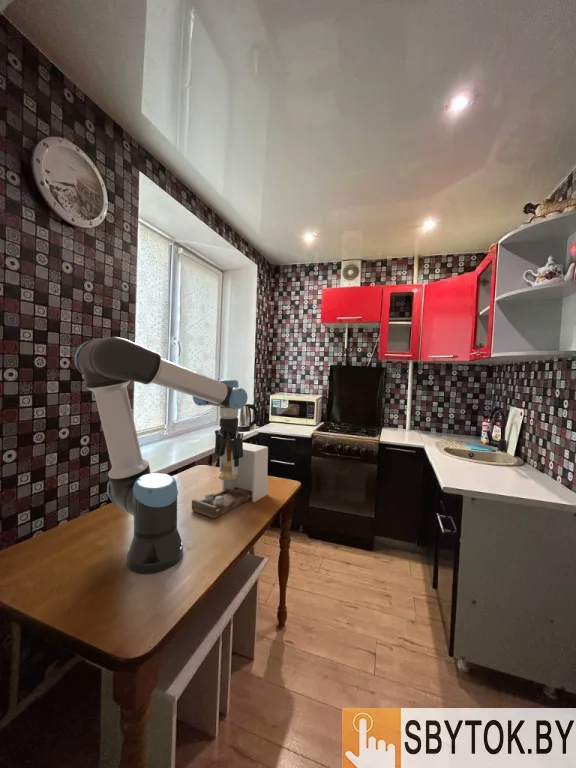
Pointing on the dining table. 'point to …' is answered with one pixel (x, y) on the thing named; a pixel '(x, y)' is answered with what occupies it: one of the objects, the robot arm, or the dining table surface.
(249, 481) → the white upright box
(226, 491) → the tray
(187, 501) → the dining table surface
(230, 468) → the hand bell
